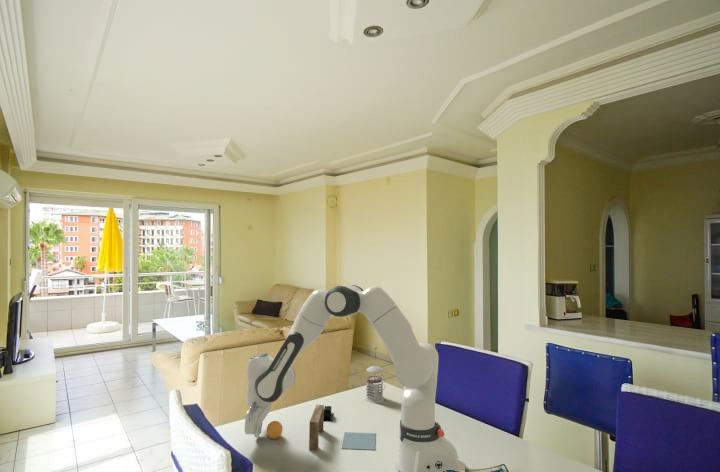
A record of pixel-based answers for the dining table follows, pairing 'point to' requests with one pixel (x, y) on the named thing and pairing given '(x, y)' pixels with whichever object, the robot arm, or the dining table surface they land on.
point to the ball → (274, 429)
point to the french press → (374, 385)
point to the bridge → (316, 426)
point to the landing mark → (359, 441)
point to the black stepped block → (328, 414)
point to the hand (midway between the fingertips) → (257, 435)
